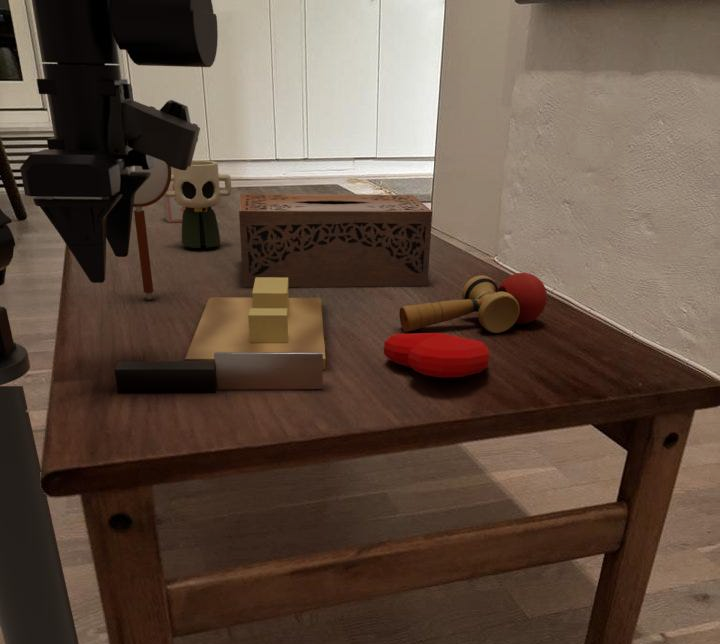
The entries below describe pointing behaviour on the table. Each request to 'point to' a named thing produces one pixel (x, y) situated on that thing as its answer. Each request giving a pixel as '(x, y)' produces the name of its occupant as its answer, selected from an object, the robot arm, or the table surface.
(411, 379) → the table surface
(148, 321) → the table surface
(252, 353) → the knife
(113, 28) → the robot arm
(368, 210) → the tissue box cover
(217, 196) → the character mug
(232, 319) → the board
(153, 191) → the magnifying glass
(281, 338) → the butter slice
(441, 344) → the heart
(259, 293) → the butter block
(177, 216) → the tea bag
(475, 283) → the kendama
